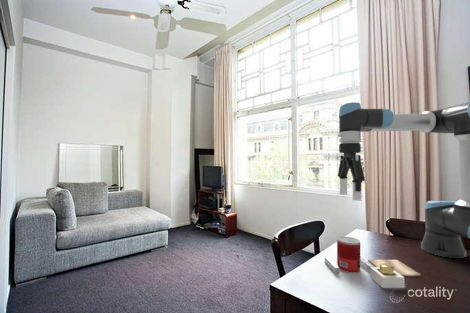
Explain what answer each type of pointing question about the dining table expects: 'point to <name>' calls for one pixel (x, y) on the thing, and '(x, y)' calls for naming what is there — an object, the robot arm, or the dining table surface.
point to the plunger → (386, 269)
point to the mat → (396, 267)
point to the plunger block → (387, 278)
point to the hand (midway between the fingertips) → (349, 197)
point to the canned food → (348, 254)
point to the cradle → (337, 270)
